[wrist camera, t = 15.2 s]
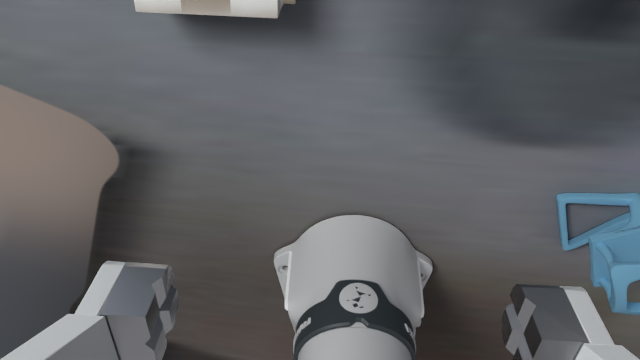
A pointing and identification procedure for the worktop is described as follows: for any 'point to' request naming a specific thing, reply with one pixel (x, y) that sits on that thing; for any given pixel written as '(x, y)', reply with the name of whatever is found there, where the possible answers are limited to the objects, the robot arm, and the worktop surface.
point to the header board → (215, 7)
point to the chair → (609, 245)
